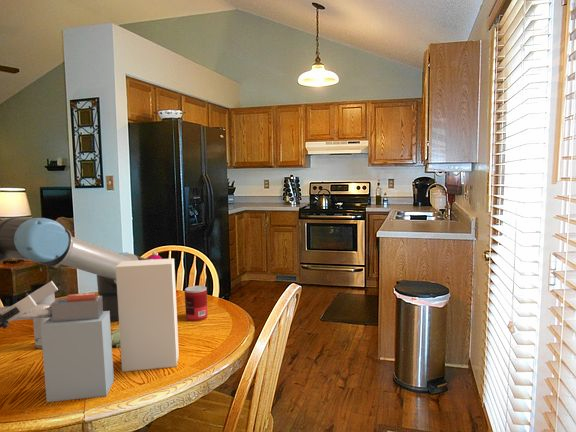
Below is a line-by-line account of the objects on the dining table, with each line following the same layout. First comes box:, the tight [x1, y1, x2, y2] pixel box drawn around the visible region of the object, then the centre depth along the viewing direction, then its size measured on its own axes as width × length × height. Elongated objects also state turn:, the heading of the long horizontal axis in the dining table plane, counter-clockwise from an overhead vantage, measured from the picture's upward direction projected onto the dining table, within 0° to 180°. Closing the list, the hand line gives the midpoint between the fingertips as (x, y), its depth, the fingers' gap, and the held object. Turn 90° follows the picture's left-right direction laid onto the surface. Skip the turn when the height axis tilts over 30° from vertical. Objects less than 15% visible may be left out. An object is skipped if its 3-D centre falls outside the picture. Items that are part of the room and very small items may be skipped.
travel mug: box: [30, 281, 56, 350], centre depth 135 cm, size 6×7×20 cm
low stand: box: [41, 311, 115, 403], centre depth 105 cm, size 8×13×18 cm, turn 100°
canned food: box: [184, 285, 209, 322], centre depth 159 cm, size 8×8×11 cm
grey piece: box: [0, 292, 103, 322], centre depth 103 cm, size 4×22×6 cm, turn 100°
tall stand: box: [116, 257, 180, 372], centre depth 120 cm, size 8×14×28 cm, turn 100°
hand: (44, 292), depth 102 cm, fingers open, 13 cm apart
